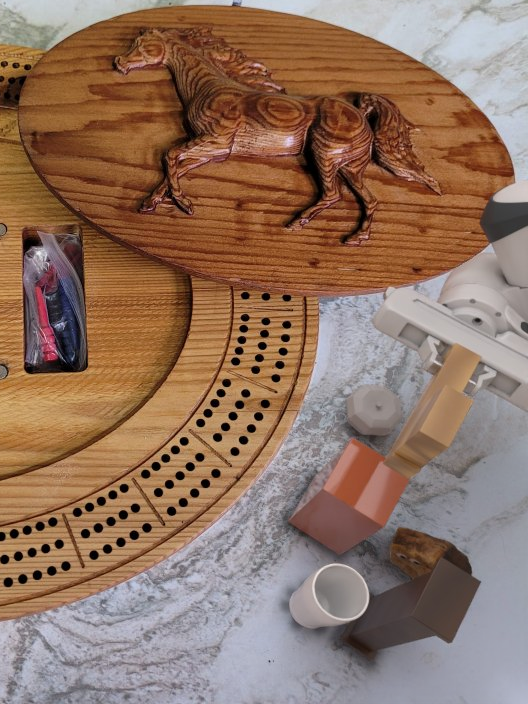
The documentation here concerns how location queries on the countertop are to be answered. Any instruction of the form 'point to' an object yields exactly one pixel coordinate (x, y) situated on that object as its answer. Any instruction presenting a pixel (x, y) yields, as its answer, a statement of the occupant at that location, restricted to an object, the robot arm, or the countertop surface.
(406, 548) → the brown rounded lump
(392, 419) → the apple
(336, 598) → the white cup
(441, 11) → the countertop surface
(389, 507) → the terracotta block
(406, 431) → the tan stepped wooden block
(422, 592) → the walnut shelf
